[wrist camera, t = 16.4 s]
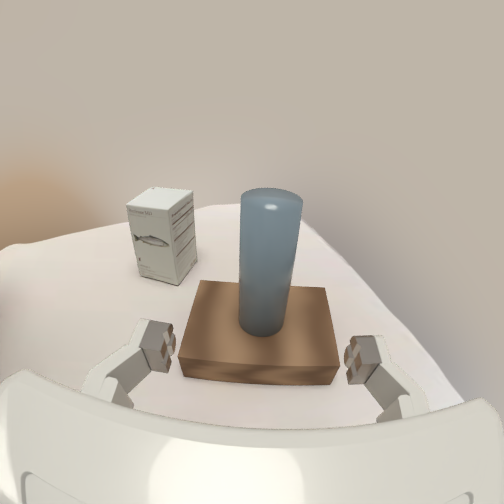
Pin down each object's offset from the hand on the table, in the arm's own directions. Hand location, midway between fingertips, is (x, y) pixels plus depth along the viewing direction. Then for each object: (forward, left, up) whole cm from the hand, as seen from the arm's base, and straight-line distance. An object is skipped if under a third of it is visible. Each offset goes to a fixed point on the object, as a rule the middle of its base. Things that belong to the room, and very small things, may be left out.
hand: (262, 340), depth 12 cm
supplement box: (-15, +26, -17) cm, 34 cm away
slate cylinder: (0, +13, -13) cm, 18 cm away
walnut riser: (0, +13, -17) cm, 21 cm away
